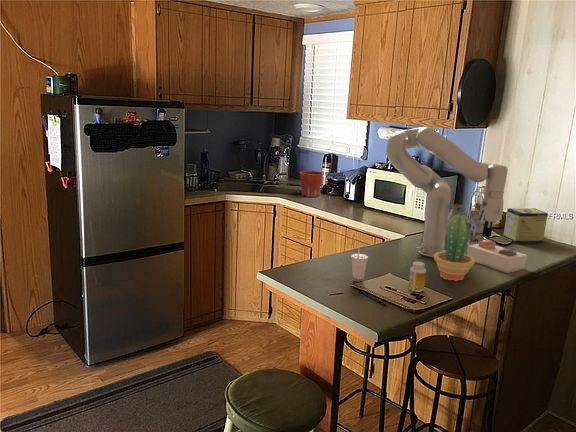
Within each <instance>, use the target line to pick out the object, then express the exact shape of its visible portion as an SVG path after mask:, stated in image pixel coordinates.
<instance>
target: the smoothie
mask: <svg viewBox="0 0 576 432" xmlns="http://www.w3.org/2000/svg"><path fill="white" fill-rule="evenodd" d="M360 247H361V244H358V246H357V253H352V254H351V255H350V259H351V270H352V272H351V273H352V278H353V277H354V278H357V279H362V278H363V279H364V277H365V272H366V268H367V264H368V261H369V256H368V255H367V254H364V253H360V249H361V248H360Z"/></svg>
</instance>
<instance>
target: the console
mask: <svg viewBox="0 0 576 432" xmlns="http://www.w3.org/2000/svg"><path fill="white" fill-rule="evenodd" d="M504 248H505V247H502V246H500V245H497V244H496V245H495V248H493V249H489V250H488V249H485V248H482V247H479V244H474V245H469V246H468V245H467V251H466V255H469V256H471V257H473V258H474V260H475V263H477V264H481V265H483V266H485V267H489V268H491V269H494V270H497V271H500V272H503V273H506V274H510V272H511V273H514V272H517V271H522V270H524V269H526V265H527V259H528V255H527V254H525V253H522V252H518V251H516V250H514V251H515V252H517V253H516V255H513V256H507V255H504V254H500V253H499V250H503V249H504ZM521 269H522V270H521Z"/></svg>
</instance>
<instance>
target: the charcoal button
mask: <svg viewBox="0 0 576 432" xmlns="http://www.w3.org/2000/svg"><path fill="white" fill-rule="evenodd" d="M503 248H504V249H503V250H499V253H500V254H504V255H507V256H513V255H516V253H517V252H518V251H516V250H513V249H511V248H507V247H506V248H505V247H503ZM515 251H516V252H515Z"/></svg>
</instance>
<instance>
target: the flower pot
mask: <svg viewBox="0 0 576 432" xmlns="http://www.w3.org/2000/svg"><path fill="white" fill-rule="evenodd" d="M299 175H300V176H299V177H300V181H301V182H300V183H301V184H300V186H301V187H300V188H301V196H302V197H307V198H317V197H320V192H321V185H322V179H323V175H324V172H323V171H317V170H302V171H299Z"/></svg>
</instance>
